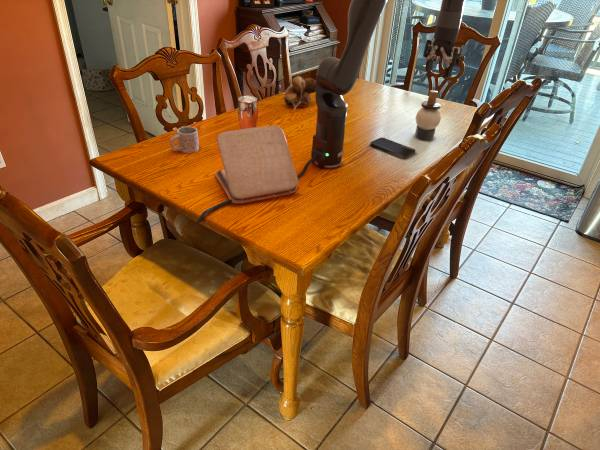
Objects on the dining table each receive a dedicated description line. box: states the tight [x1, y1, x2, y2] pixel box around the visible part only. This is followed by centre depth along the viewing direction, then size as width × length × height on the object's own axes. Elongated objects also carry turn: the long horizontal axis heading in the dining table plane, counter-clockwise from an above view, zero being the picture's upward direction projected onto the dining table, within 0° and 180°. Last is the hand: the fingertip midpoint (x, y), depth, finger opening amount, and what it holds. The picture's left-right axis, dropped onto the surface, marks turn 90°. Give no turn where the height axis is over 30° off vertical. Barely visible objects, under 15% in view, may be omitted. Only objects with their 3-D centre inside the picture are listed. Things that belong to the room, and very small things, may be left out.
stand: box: [414, 124, 437, 142], centre depth 170 cm, size 7×7×4 cm
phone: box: [369, 137, 416, 160], centre depth 160 cm, size 8×1×15 cm
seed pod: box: [283, 75, 316, 111], centre depth 191 cm, size 13×16×15 cm
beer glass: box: [237, 95, 259, 130], centre depth 157 cm, size 7×7×15 cm
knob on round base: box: [420, 89, 442, 110], centre depth 163 cm, size 7×7×6 cm
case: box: [215, 125, 299, 205], centre depth 130 cm, size 20×21×16 cm
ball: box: [415, 107, 442, 130], centre depth 167 cm, size 9×9×9 cm
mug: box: [169, 126, 200, 154], centre depth 150 cm, size 10×7×7 cm
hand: (437, 74), depth 158 cm, fingers open, 8 cm apart
